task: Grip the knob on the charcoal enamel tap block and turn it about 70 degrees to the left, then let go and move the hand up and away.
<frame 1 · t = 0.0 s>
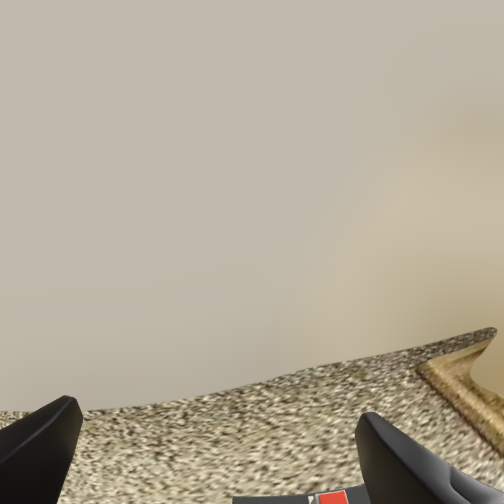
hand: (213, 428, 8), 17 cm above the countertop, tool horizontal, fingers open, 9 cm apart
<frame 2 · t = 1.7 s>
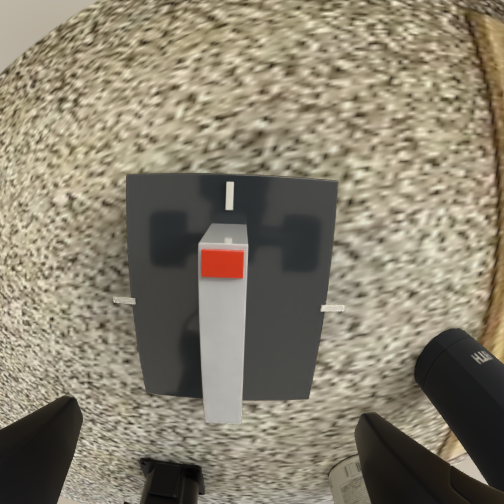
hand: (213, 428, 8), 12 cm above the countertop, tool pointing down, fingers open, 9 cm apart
spray can: (355, 466, 25), on the countertop
knob: (224, 327, 14), point 5 cm above the countertop, hinge at 0.0°
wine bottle: (441, 357, 22), on the countertop
tap block: (229, 286, 19), on the countertop
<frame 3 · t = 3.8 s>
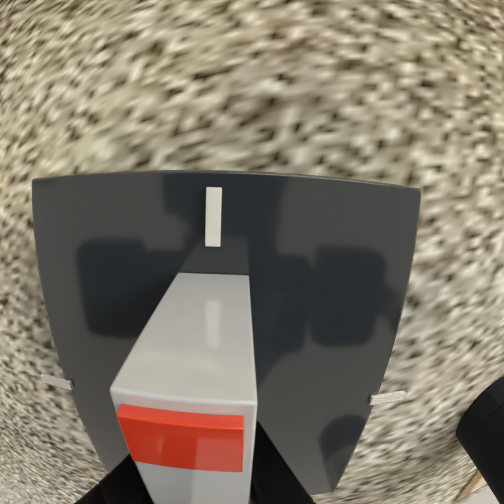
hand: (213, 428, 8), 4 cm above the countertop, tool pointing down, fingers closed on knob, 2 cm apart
knob: (209, 463, 6), point 5 cm above the countertop, hinge at 0.0°, touching gripper
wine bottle: (487, 407, 14), on the countertop
tap block: (220, 355, 11), on the countertop
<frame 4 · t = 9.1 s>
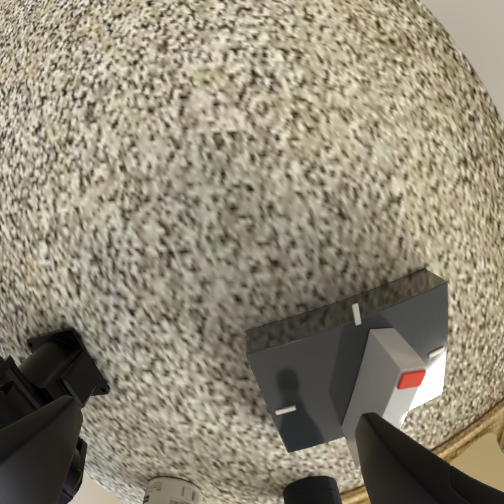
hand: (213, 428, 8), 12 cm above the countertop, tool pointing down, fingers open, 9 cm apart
spray can: (175, 487, 26), on the countertop
knob: (378, 404, 16), point 5 cm above the countertop, hinge at 69.9°
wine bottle: (309, 487, 26), on the countertop
tap block: (353, 360, 21), on the countertop
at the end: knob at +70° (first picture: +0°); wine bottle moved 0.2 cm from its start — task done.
